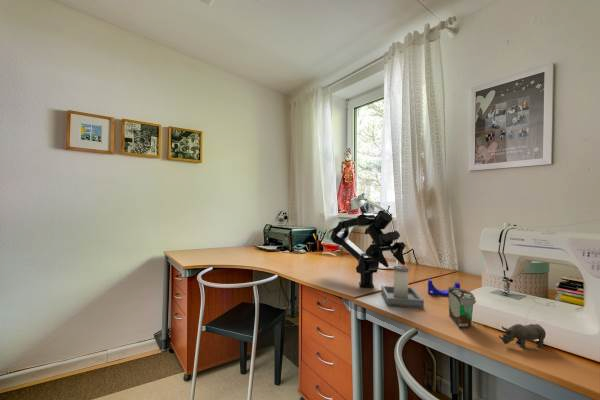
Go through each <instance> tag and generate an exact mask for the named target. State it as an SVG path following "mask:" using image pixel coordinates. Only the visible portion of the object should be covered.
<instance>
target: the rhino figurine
mask: <svg viewBox="0 0 600 400" xmlns="http://www.w3.org/2000/svg"><path fill="white" fill-rule="evenodd" d="M501 328H502V330H504V331H505V333H504V334H502V336H501V335H498V337H499V339H500V340H501V341H502V343H503V344H504V345H507V344H510V343H511V342H513V341H514V340H515V338H516V339H517V340H516V341H515V342H514V343H515V344H517V345H519V346H518V347H519V348H521V349H524V350H525V349H526V348H527V347H526V341H535V340H536V341H535V342H534V343H535V344H537V345H536V347H537V348H538V349H542V350H543V349H544V348H545V346H544V343H545V341H544V339H546V330H545V329H544V328H543V327H542V326H541V324H540V325H539V324H538V323H536V324H534V323H530V324H526V325H523V324H521V323H515V324H513V325H512V326H510V327H507V328H506V327H504V326H503V325H501ZM537 339H539V341H537Z"/></svg>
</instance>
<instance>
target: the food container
mask: <svg viewBox="0 0 600 400" xmlns="http://www.w3.org/2000/svg"><path fill="white" fill-rule="evenodd" d="M447 290H448V293H449V297H448V316H449V319H450V320H451V321H452V322H453V323H454V324H455V325H456V327H457V328H458V329H459V330H461V329H462V330H463V329H465V330H466V329H470V328H471V327H472V320H473V311H474V310H473V309H474V305H476V303H477V301H476V297H475V294H474V293H473V292H471V291H469V290H466V289H463V288H460V289H459V288H453V287H452V286H451V287H450V286H448V288H447Z"/></svg>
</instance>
